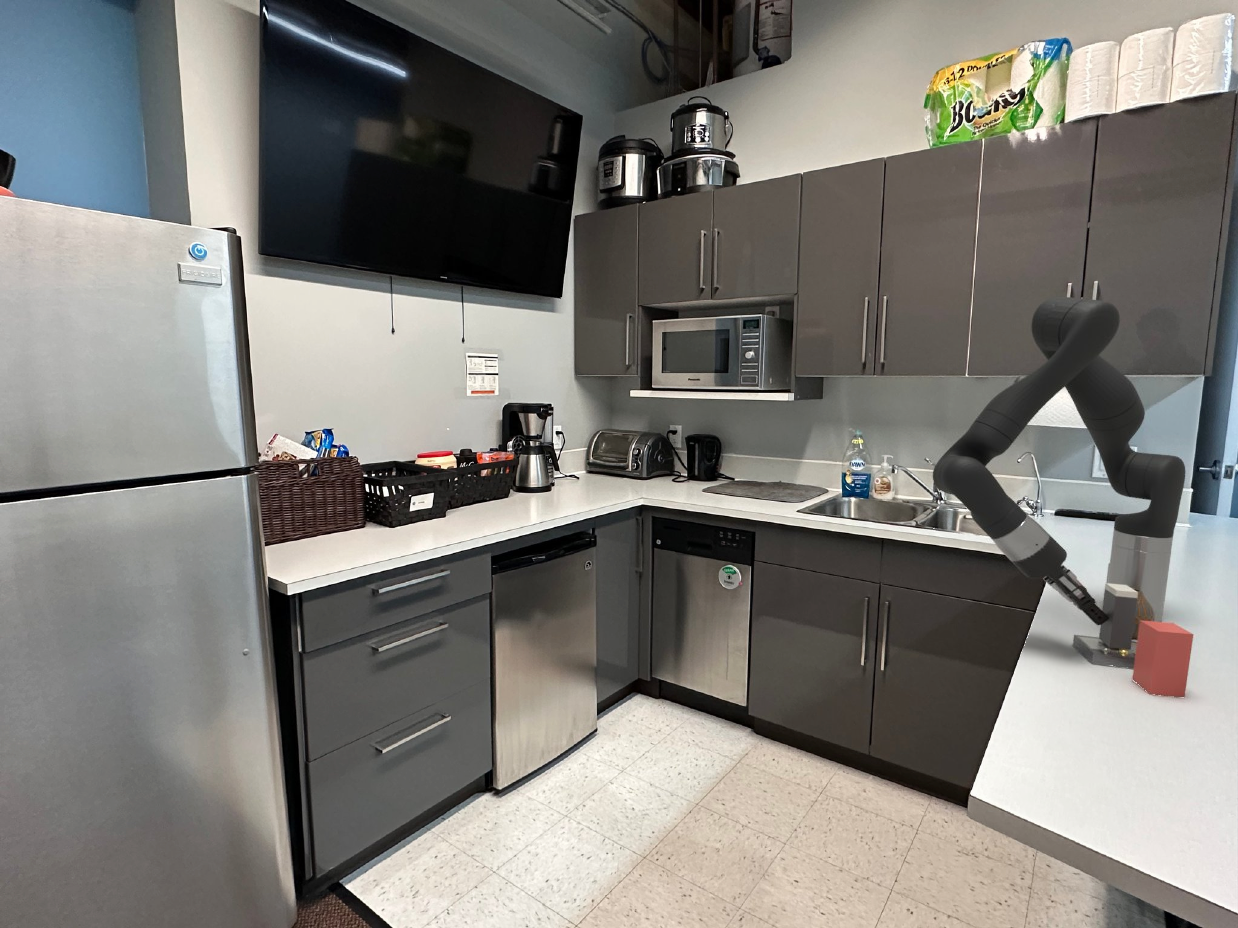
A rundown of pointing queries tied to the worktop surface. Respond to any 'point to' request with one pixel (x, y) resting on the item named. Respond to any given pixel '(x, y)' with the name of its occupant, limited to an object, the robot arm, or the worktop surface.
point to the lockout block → (1162, 658)
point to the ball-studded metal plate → (1104, 652)
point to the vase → (1142, 612)
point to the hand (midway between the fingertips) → (1102, 620)
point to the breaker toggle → (1118, 616)
